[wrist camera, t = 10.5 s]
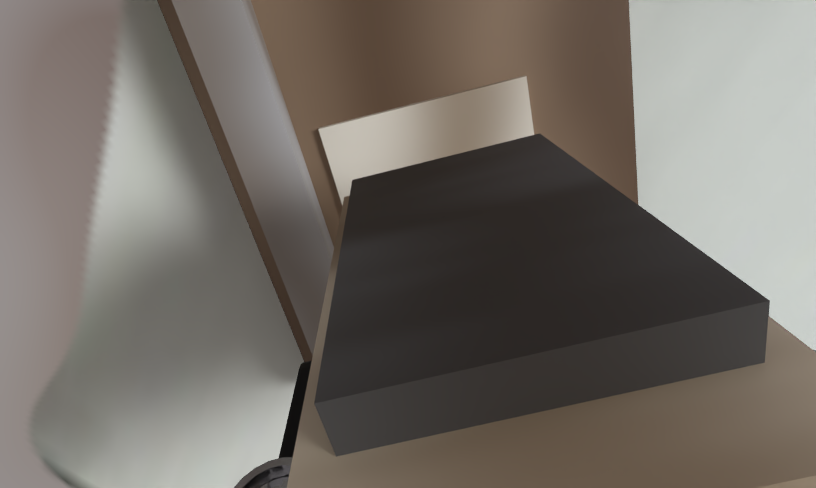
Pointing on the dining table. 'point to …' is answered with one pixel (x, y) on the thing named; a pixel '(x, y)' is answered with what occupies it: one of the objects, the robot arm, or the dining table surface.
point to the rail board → (392, 103)
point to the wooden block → (541, 342)
